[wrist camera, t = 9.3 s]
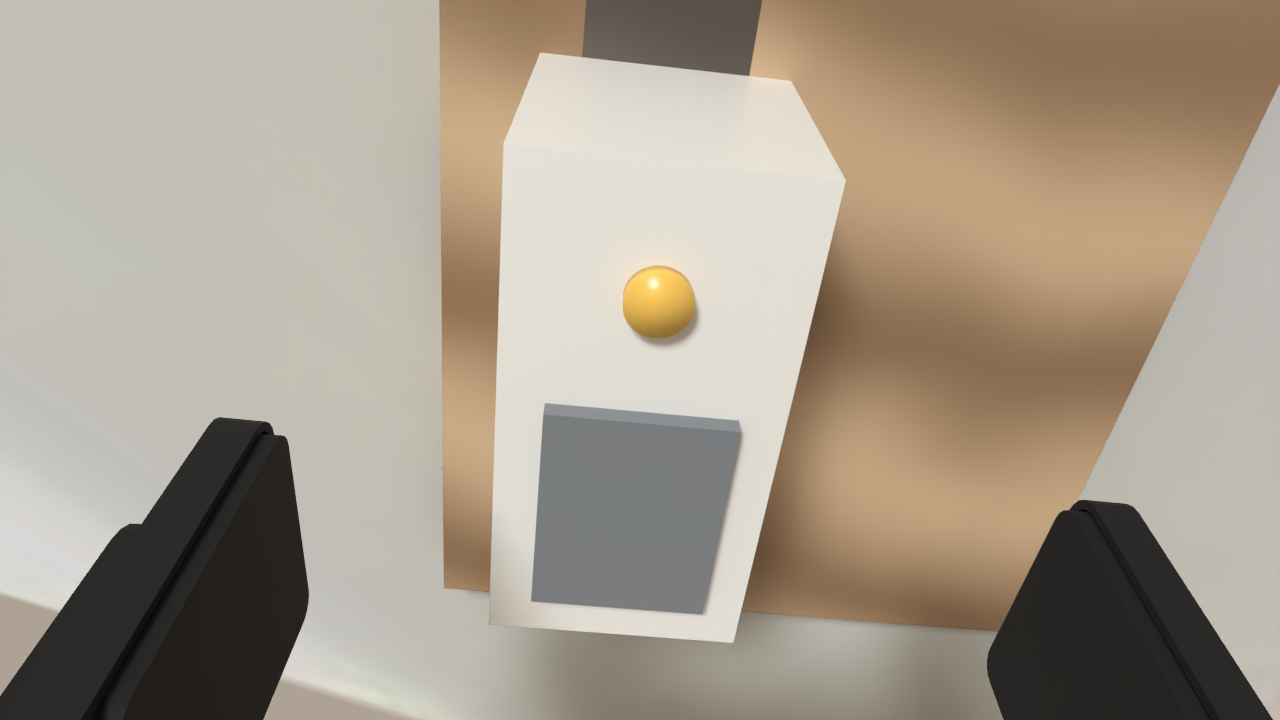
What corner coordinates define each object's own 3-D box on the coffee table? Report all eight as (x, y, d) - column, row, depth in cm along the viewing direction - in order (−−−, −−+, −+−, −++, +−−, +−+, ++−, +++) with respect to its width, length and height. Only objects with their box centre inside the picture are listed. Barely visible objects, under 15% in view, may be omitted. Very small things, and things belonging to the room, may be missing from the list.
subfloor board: (449, -265, 14) (437, -270, 13) (1346, -145, 15) (1388, -143, 14) (451, 559, 24) (444, 588, 23) (1001, 603, 24) (1013, 632, 24)
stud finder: (540, 52, 16) (500, 151, 11) (791, 80, 16) (850, 189, 11) (520, 454, 20) (486, 637, 16) (713, 471, 21) (734, 655, 16)
